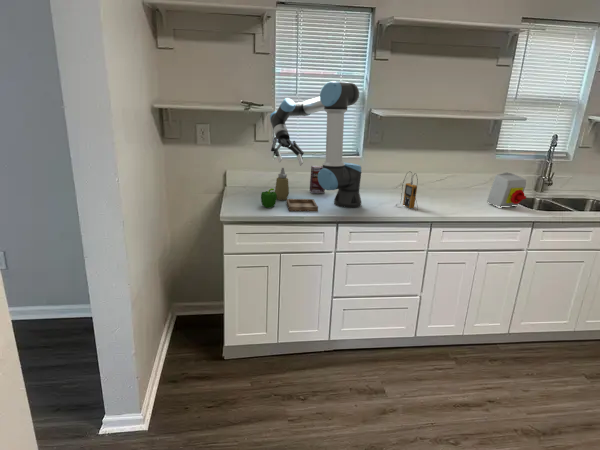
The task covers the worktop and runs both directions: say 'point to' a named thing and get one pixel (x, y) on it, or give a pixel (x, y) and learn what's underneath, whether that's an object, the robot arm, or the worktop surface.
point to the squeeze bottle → (282, 186)
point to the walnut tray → (302, 205)
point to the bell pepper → (268, 198)
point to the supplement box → (315, 180)
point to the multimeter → (410, 194)
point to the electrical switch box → (507, 190)
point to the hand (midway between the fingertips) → (291, 162)
